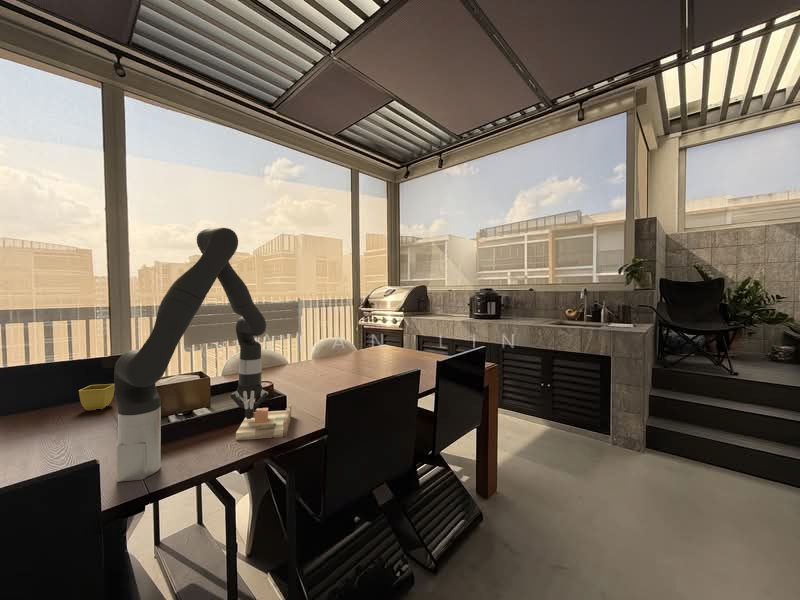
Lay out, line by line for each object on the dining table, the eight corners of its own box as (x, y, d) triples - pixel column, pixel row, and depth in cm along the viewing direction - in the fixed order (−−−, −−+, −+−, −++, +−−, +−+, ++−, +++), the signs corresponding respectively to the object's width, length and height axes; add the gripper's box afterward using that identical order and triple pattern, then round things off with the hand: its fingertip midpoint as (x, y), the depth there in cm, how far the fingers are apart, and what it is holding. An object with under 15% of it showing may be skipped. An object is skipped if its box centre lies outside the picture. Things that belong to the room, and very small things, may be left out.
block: (266, 422, 121) (266, 411, 121) (254, 423, 120) (254, 412, 120) (268, 418, 125) (268, 407, 124) (256, 419, 124) (256, 408, 124)
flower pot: (90, 405, 141) (90, 384, 141) (115, 404, 144) (115, 383, 144) (78, 413, 133) (78, 390, 132) (104, 411, 135) (104, 389, 135)
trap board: (286, 436, 115) (286, 422, 115) (235, 440, 112) (236, 425, 111) (291, 416, 134) (291, 404, 134) (248, 419, 130) (248, 406, 130)
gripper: (227, 373, 116) (226, 423, 116) (268, 372, 119) (267, 421, 119) (233, 369, 123) (232, 415, 123) (271, 368, 126) (270, 413, 127)
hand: (249, 418), depth 121 cm, fingers closed
